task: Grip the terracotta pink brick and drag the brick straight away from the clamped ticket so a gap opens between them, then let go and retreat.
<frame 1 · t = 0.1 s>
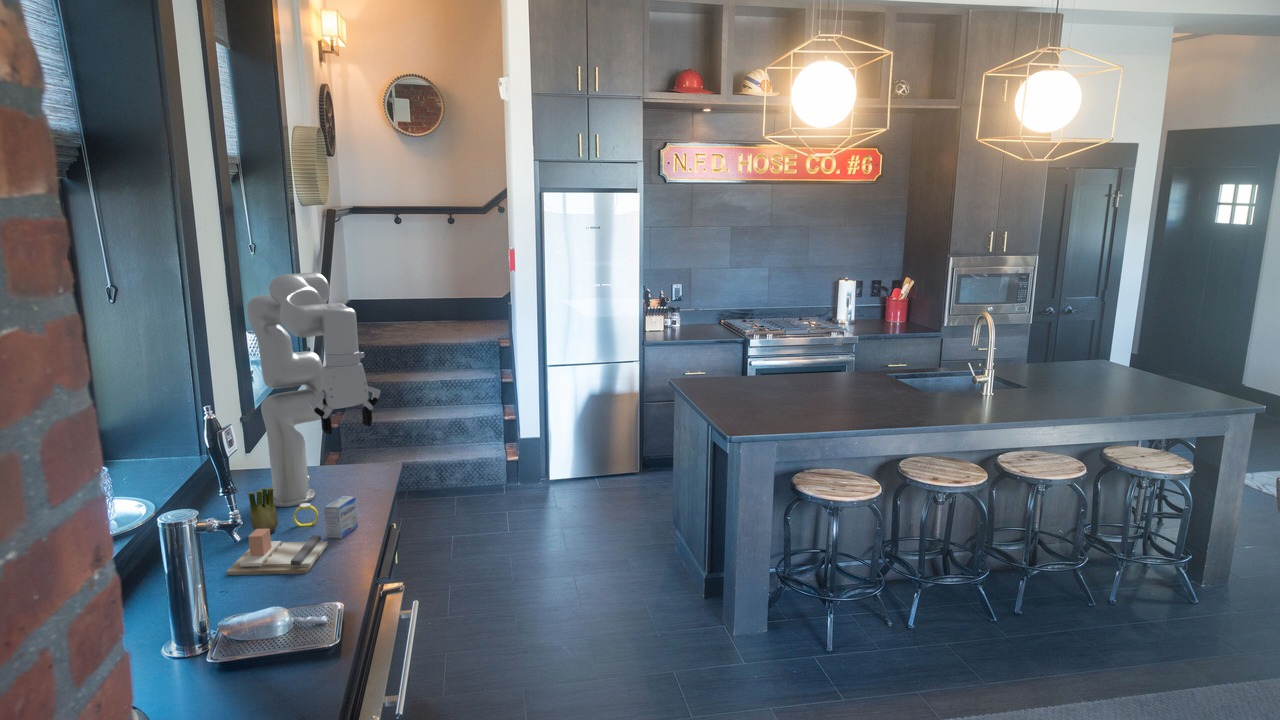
hand: (347, 429, 189), 31 cm above the worktop, tool pointing down, fingers open, 9 cm apart
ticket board: (279, 559, 190), on the worktop
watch: (306, 526, 210), on the worktop
terracotta pink brick: (260, 543, 188), point 4 cm above the worktop, slide at 0.0 cm
medicine box: (342, 533, 205), on the worktop
fennel bulb: (266, 532, 205), on the worktop
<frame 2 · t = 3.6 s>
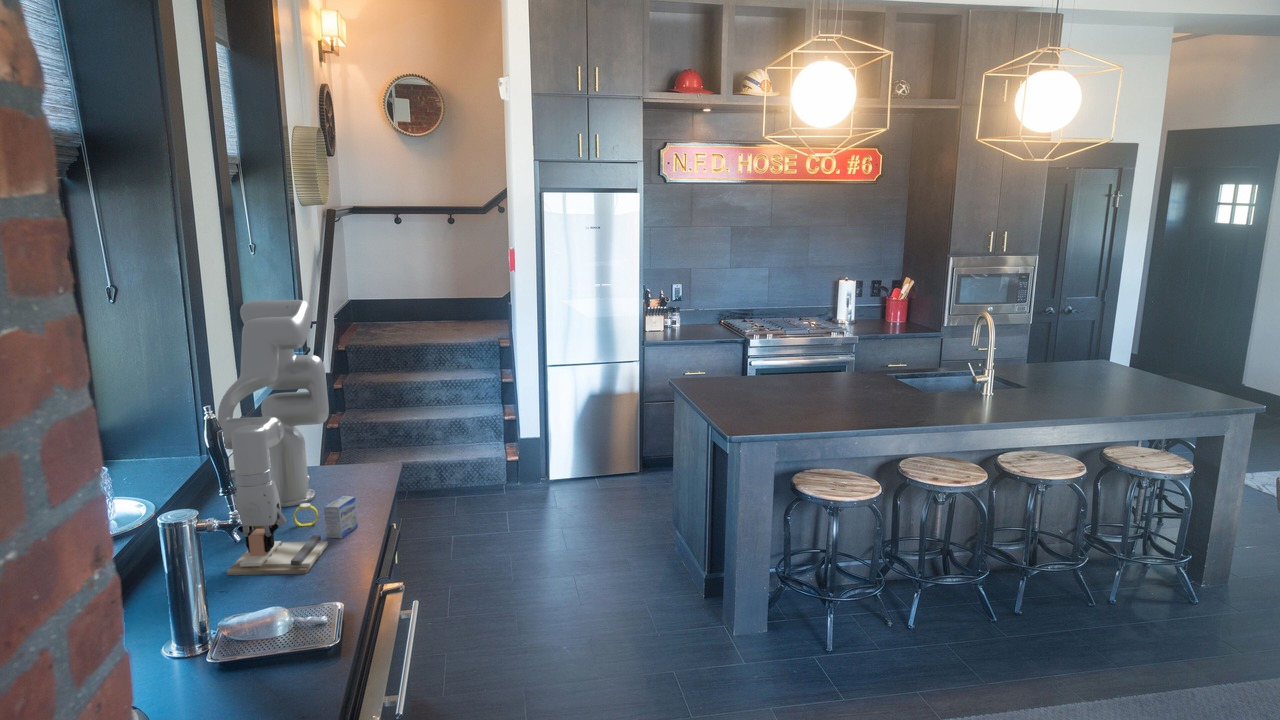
hand: (260, 549, 189), 3 cm above the worktop, tool pointing down, fingers closed on terracotta pink brick, 3 cm apart
terracotta pink brick: (260, 543, 188), point 4 cm above the worktop, slide at 0.0 cm, touching gripper
everything else where it was.
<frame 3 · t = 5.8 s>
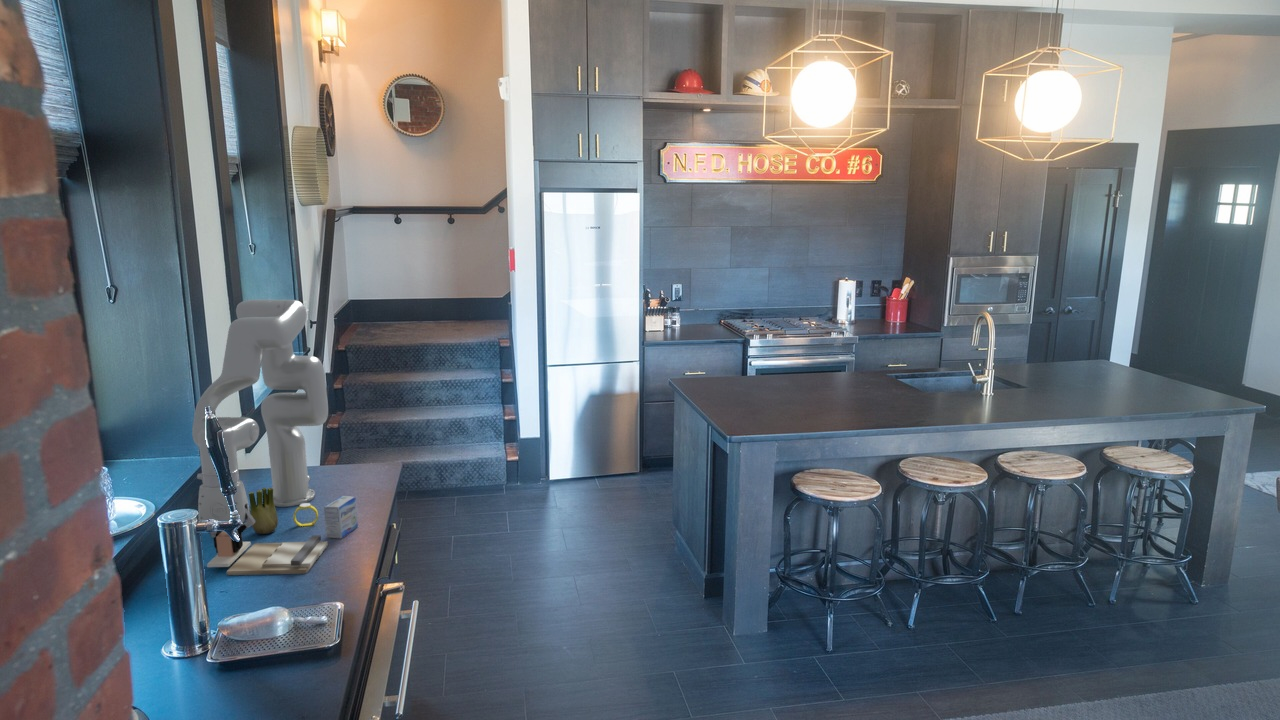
hand: (229, 549, 188), 3 cm above the worktop, tool pointing down, fingers closed on terracotta pink brick, 3 cm apart
terracotta pink brick: (228, 544, 188), point 4 cm above the worktop, slide at 7.5 cm, touching gripper
everything else where it was.
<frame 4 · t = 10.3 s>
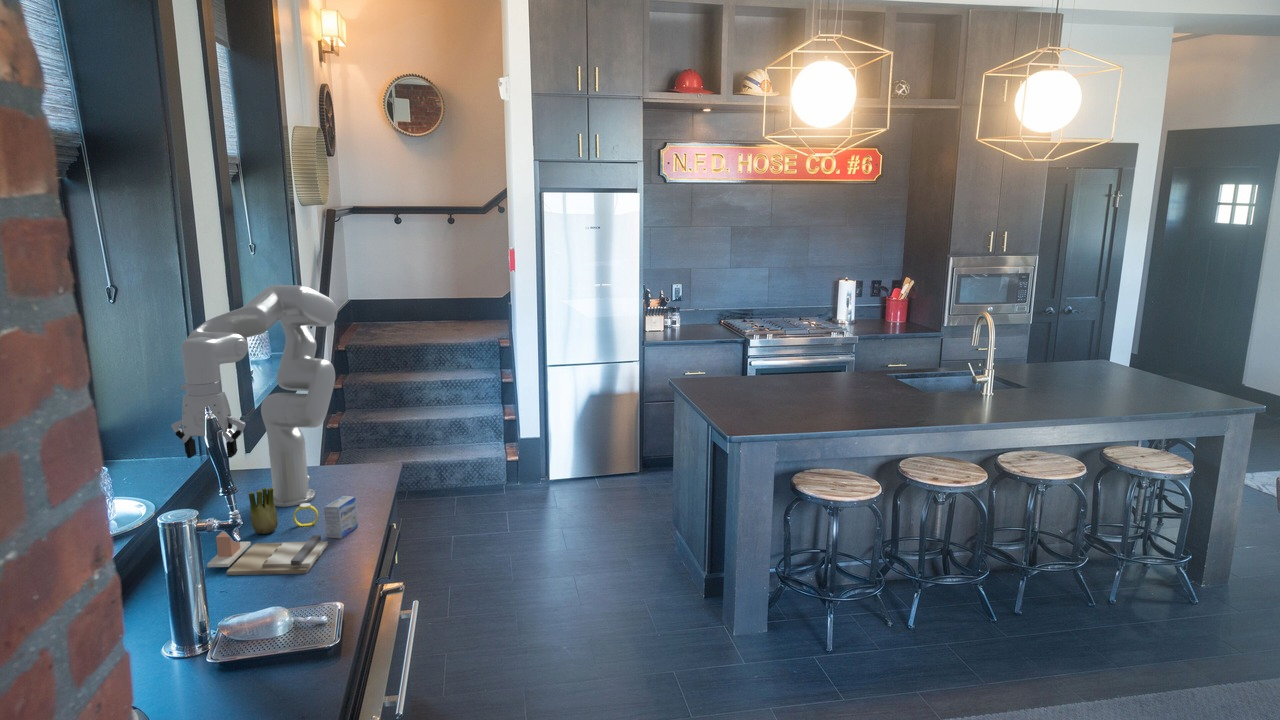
hand: (212, 456, 193), 23 cm above the worktop, tool pointing down, fingers open, 9 cm apart
terracotta pink brick: (228, 544, 188), point 4 cm above the worktop, slide at 7.5 cm
everything else where it was.
at the end: terracotta pink brick slide at 7.5 cm; the gripper is holding nothing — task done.
